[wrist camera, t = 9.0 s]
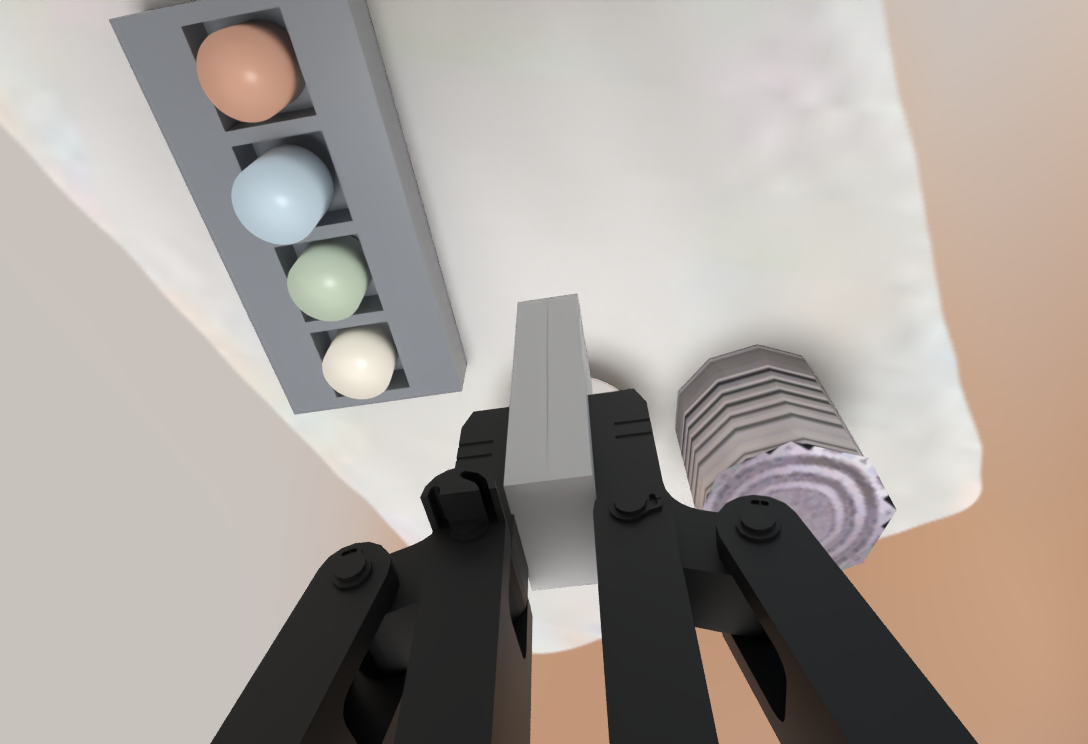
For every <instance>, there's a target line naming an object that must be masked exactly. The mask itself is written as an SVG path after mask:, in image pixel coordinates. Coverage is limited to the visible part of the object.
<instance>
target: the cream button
mask: <svg viewBox="0 0 1088 744" xmlns="http://www.w3.org/2000/svg"><path fill="white" fill-rule="evenodd" d="M398 357H399V354H398V351H397V348H396V345H395V342H394V339H393V336H392V333H391V330H390V327H389V324H388V323H386V322H380V323H374V324H367V325H360V326H354V327H347V328H341V329H338V331H337V333H336V335H335V337H334V339H333V341H332V343H331V345H330V347H329V349H328V351H327V353H326V355H325V357H324V359H323V363H322V370H323V374H324V377H325V379H326V381H327V382H328V384H329V385H330V386H331V387H332V388H333V389H334V390H336V391H337V392H339V393H340V394H342V395H344V396H347V397H350V398H354V399H369V398H373V397H376V396H378V395H380V394H381V393H383V392H384V391H385V390H386V388H387V387H388V385H389V383H390V380H391V377H392V374H393V371H394V368H395V366H396V363H397V360H398Z"/></svg>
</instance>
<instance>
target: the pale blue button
mask: <svg viewBox="0 0 1088 744" xmlns="http://www.w3.org/2000/svg"><path fill="white" fill-rule="evenodd" d="M231 198H232V204H233V208H234V211H235V213H236V215H237V217H238V219H239V220H240V222H241V223H242V224H243V225H244V227H245V228H246V229H247V230H248V231H250V232H251V233H252V234H253V235H255V236H257V237H258V238H260V239H262V240H264V241H267V242H269V243H273V244H279V245H287V244H293V243H296V242H299V241H301V240H303V239H304V238H306V237H307V236H308V235H309V234H310V233H311V231H312V230H313V229H314V227H315V226H316V225H317V223H318V222H319V221H320V219H321V218H322V217H323V215H324V214H325V213H326V212H327V210H328V209H329V207H330V206H331V204H332V201H333V198H334V182H333V179H332V176H331V173H330V171H329V170H328V168H327V166H326V165H325V164H324V162H323V161H322V160H321V159H320V158H319V157H318V156H316V155H315V154H314V153H312V152H311V151H309V150H307V149H305V148H303V147H300V146H296V145H288V144H285V145H278V146H275V147H273V148H270V149H269V150H267V151H266V152H265V153H264V154H262V155H261V156H260V157H259V158H258V159H256V160H255V161H254V162H253V163H252V164H250V165H249V166H248V167H247V168H245V169H244V170H243V171H242V172H241V173H240V174H239V175H238V176H237V178H236V179H235V181H234V184H233V186H232V193H231Z"/></svg>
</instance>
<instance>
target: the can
mask: <svg viewBox="0 0 1088 744" xmlns="http://www.w3.org/2000/svg"><path fill="white" fill-rule="evenodd" d="M675 430H676V434H677V438H678V442H679V446H680V450H681V454H682V458H683V462H684V466H685V470H686V474H687V478H688V482H689V486H690V490H691V494H692V498H693V502H694V506H695V509H700V510H706V511H713V512H719V511H720V510H721V508H722V507H723V506H724V505H725V504H726V503H727V502H729V501H731V500H734V499H736V498H738V497H742V496H748V495H761V496H769V497H772V498H775V499H777V500H779V501H782V502H784V503H786V504H787V505H788V506H789V507H790V508H791V509H793V510H794V511H795V512H796V513H797V514H798V516H799V517H800V518H801V520H802V521H803V522H804V523H805V525H806V526H807V527H808V528H809V530H810V531H811V532H812V533H813V535H814V536H815V537H816V539H817V540H818V541H819V542H820V544H821V545H822V546H823V547H824V549H825V550H826V551H827V552H828V554H829V555H830V556H831V558H832V559H833V560H834V561H835V563H836V564H837V565H838V566H839V568H840V569H841V570H843V569H846V568H849V567H852V566H855V565H858V564H860V563H863V562H864V560H865V559H866V557H867V556H868V554H869V553H870V551H871V549H872V548H873V546H874V545H875V543H876V542H877V540H878V538H879V537H880V535H881V534H882V532H883V531H884V529H885V527H886V526H887V524H888V523H889V521H890V520H891V518H892V516H893V515H894V513H895V512H896V508H895V506H894V504H893V503H892V501H891V499H890V497H889V495H888V493H887V491H886V489H885V488H884V486H883V484H882V482H881V480H880V478H879V476H878V475H877V473H876V471H875V469H874V467H873V465H872V463H871V461H870V460H869V458H868V457H864V456H863V454H862V452H861V451H860V449H859V447H858V445H857V444H856V442H855V440H854V439H853V437H852V435H851V434H850V432H849V430H848V428H847V427H846V425H845V423H844V422H843V420H842V418H841V417H840V415H839V413H838V411H837V410H836V408H835V406H834V405H833V403H832V401H831V400H830V398H829V396H828V394H827V393H826V391H825V389H824V388H823V386H822V385H821V383H820V382H819V380H818V379H817V377H816V376H815V374H814V373H813V371H812V370H811V369H810V367H809V366H808V364H807V363H806V361H805V360H804V358H803V357H802V356H801V355H797V354H793V353H789V352H785V351H781V350H777V349H773V348H769V347H765V346H761V345H754V346H751V347H747V348H744V349H741V350H737V351H734V352H731V353H727V354H724V355H720V356H717V357H714V358H710V359H709V360H708V361H707V362H706V363H705V364H704V365H703V366H702V367H701V368H700V369H699V370H698V371H697V372H696V373H695V374H694V375H693V376H692V377H691V378H690V380H689V381H688V382H687V383H686V384H685V385H684V386H683V387H682V388H681V389H680V390H679V391H678V399H677V411H676V423H675Z"/></svg>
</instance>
